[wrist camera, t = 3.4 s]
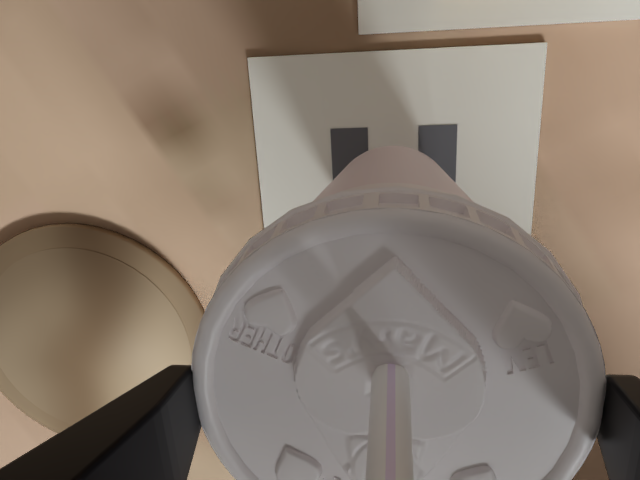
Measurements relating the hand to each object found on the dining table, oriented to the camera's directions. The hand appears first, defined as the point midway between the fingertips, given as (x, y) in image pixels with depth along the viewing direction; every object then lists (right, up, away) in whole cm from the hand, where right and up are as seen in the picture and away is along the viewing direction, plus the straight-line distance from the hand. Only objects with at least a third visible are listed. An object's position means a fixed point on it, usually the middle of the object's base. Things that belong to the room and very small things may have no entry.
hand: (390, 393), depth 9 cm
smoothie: (+1, +4, +9) cm, 10 cm away
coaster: (-10, -2, +14) cm, 17 cm away
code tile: (+1, +4, +10) cm, 11 cm away
